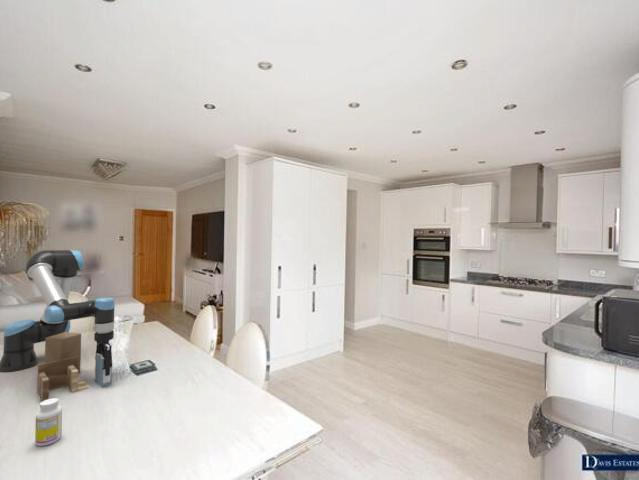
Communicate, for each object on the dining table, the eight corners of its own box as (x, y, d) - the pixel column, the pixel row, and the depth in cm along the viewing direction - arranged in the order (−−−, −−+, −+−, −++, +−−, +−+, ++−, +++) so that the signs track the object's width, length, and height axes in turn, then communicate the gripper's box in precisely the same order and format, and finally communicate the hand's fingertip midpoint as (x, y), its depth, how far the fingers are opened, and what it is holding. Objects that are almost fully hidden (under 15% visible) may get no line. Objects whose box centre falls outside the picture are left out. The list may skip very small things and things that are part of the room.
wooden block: (60, 381, 148) (61, 338, 148) (43, 379, 150) (44, 337, 150) (80, 373, 158) (81, 333, 158) (64, 371, 160) (65, 331, 160)
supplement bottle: (45, 434, 107) (46, 396, 107) (66, 434, 107) (67, 396, 107) (29, 447, 100) (30, 406, 100) (51, 446, 100) (52, 406, 101)
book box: (94, 380, 149) (95, 353, 149) (104, 378, 152) (105, 351, 152) (101, 387, 142) (101, 358, 142) (111, 384, 145) (112, 356, 145)
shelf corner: (37, 392, 137) (37, 364, 137) (76, 381, 147) (77, 356, 148) (42, 403, 127) (43, 374, 127) (84, 391, 138) (85, 364, 138)
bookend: (66, 386, 143) (67, 366, 143) (83, 381, 148) (83, 362, 148) (72, 392, 137) (72, 372, 137) (88, 388, 141) (89, 368, 141)
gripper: (88, 328, 152) (87, 374, 152) (101, 337, 137) (100, 389, 137) (106, 325, 158) (105, 370, 157) (121, 334, 143) (120, 383, 142)
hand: (103, 378), depth 147 cm, fingers closed on book box, 10 cm apart
